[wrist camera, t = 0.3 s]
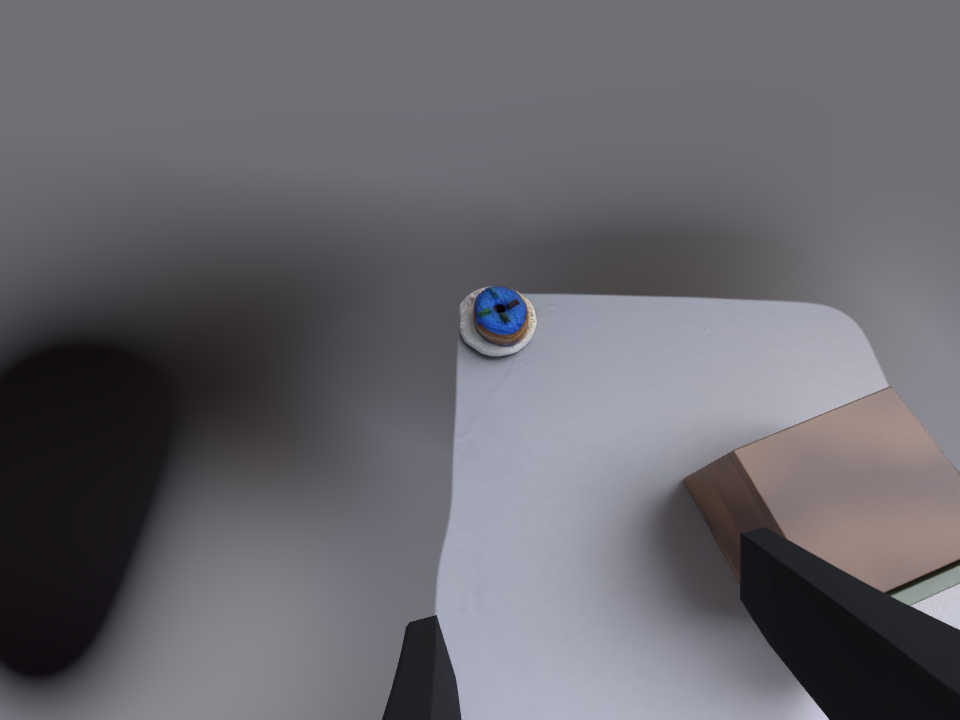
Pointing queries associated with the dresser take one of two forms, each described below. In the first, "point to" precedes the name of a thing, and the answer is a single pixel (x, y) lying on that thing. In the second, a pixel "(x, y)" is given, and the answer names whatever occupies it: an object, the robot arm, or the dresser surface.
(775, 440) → the cupboard
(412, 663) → the robot arm
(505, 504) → the dresser surface
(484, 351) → the dessert
